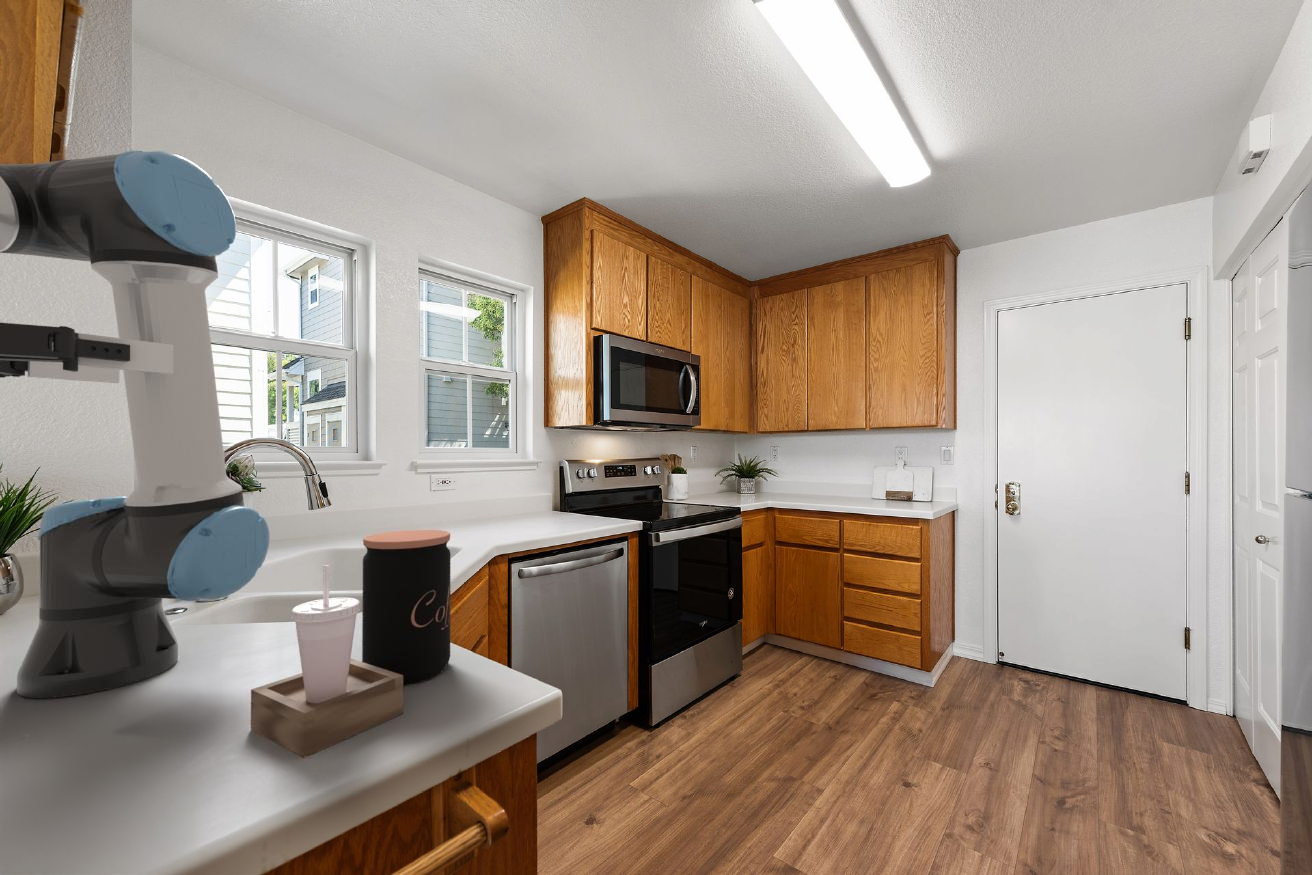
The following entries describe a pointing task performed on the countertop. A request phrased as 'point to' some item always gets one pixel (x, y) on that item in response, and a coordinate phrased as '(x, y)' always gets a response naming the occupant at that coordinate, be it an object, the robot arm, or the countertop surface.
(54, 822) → the countertop surface
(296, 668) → the countertop surface
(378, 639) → the coffee jar
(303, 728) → the wooden tray
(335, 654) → the smoothie
